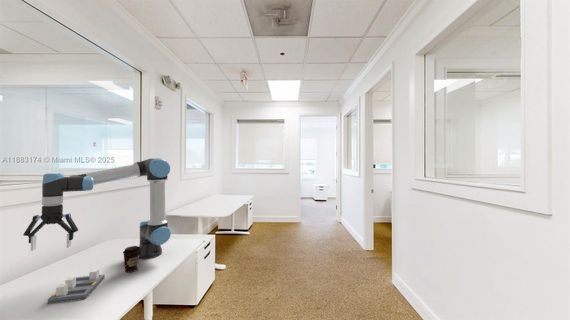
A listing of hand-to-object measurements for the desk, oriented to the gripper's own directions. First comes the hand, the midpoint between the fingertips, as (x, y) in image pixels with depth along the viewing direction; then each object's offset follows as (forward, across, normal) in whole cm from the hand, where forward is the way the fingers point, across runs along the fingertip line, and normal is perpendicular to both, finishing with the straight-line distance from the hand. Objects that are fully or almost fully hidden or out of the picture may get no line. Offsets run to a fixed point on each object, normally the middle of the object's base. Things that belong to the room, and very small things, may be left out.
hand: (51, 248), depth 121 cm
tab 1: (+19, -9, +11) cm, 24 cm away
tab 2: (+19, -9, +4) cm, 21 cm away
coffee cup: (+20, -32, -11) cm, 39 cm away
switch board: (+20, -13, +4) cm, 24 cm away
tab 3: (+19, -17, -2) cm, 25 cm away
